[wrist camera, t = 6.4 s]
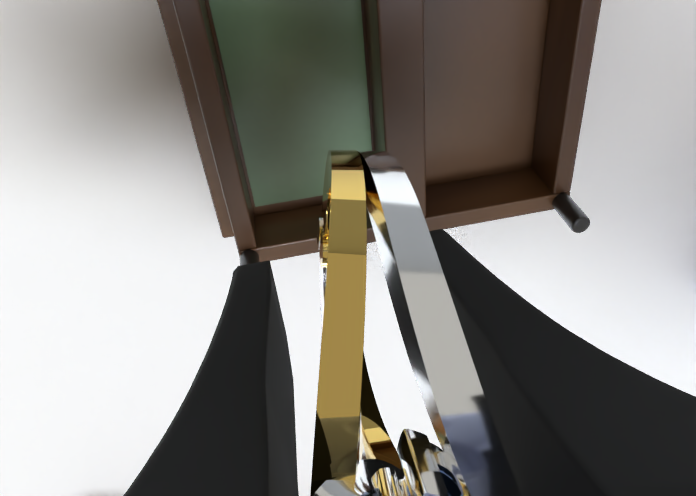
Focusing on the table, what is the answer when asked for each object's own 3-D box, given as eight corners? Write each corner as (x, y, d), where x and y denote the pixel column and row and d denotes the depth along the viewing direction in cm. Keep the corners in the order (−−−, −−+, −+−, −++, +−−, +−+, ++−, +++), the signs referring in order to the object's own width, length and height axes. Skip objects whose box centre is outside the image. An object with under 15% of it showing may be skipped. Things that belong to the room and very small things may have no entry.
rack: (596, -162, 16) (690, -150, 13) (550, 167, 22) (606, 231, 19) (133, -103, 15) (111, -72, 12) (222, 225, 21) (224, 302, 18)
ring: (261, 77, 11) (306, 446, 5) (427, 78, 12) (656, 413, 5) (265, 341, 15) (292, 723, 9) (387, 333, 16) (492, 689, 10)
